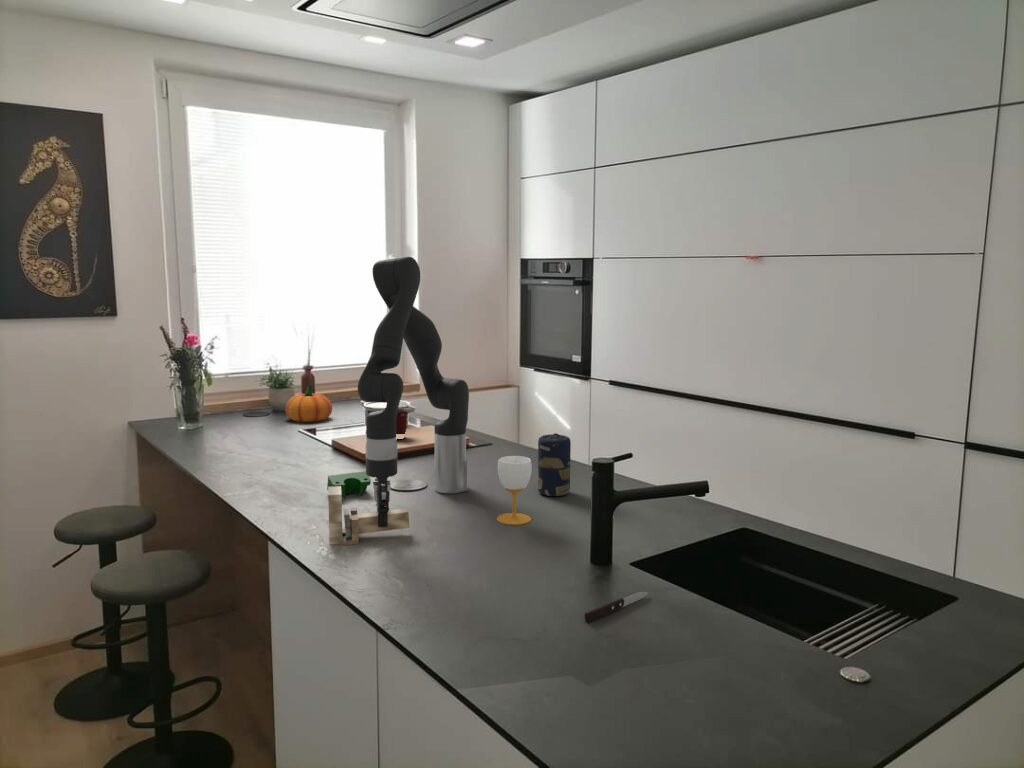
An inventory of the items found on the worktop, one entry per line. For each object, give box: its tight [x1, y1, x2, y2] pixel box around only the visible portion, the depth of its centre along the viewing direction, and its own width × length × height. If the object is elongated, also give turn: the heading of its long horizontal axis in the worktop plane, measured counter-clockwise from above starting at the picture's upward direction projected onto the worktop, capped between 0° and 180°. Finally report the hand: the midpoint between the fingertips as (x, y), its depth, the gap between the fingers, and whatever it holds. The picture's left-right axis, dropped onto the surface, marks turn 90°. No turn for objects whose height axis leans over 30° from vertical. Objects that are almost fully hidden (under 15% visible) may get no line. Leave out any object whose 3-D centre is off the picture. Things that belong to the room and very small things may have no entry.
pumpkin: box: [284, 385, 333, 423], centre depth 318 cm, size 19×19×15 cm
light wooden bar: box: [343, 507, 410, 538], centre depth 178 cm, size 15×5×6 cm, turn 104°
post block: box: [327, 486, 360, 546], centre depth 176 cm, size 7×9×12 cm
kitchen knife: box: [584, 591, 649, 624], centre depth 141 cm, size 18×1×2 cm, turn 131°
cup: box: [496, 455, 533, 526], centre depth 191 cm, size 9×9×16 cm
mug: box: [396, 407, 408, 434], centre depth 284 cm, size 12×9×11 cm
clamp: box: [326, 470, 372, 499], centre depth 212 cm, size 12×6×9 cm, turn 113°
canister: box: [537, 432, 572, 497], centre depth 214 cm, size 10×10×18 cm
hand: (382, 524), depth 179 cm, fingers closed on light wooden bar, 3 cm apart
